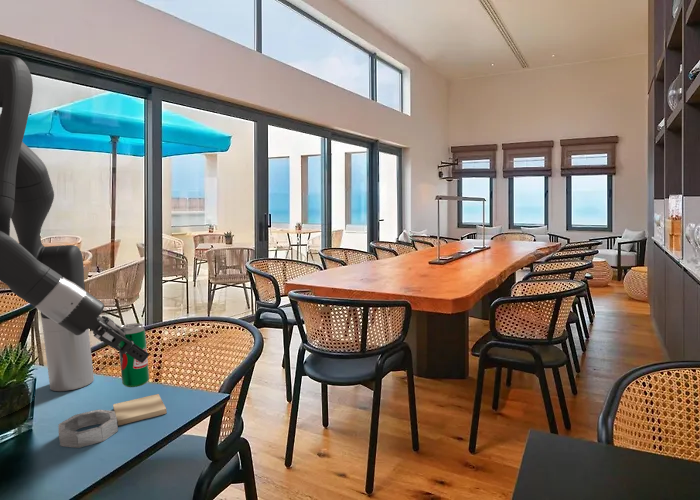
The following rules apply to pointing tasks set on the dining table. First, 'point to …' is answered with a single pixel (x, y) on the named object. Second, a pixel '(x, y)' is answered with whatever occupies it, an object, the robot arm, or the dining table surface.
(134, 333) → the soda can
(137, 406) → the board
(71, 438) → the ring
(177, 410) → the dining table surface
